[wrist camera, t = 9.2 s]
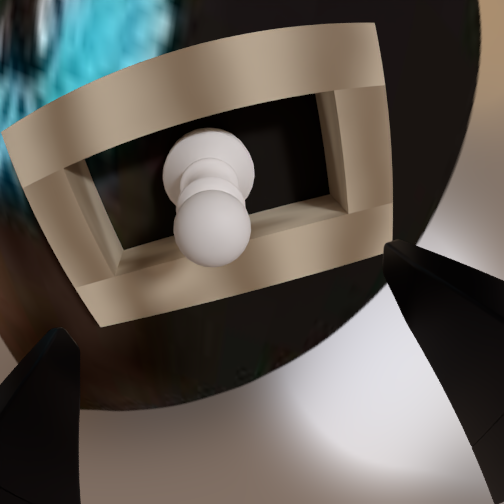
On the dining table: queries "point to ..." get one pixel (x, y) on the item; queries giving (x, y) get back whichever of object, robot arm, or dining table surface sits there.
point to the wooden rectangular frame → (194, 107)
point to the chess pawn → (210, 195)
